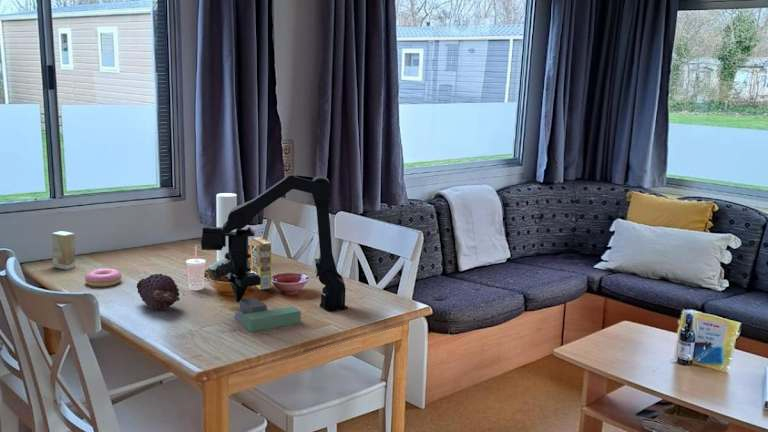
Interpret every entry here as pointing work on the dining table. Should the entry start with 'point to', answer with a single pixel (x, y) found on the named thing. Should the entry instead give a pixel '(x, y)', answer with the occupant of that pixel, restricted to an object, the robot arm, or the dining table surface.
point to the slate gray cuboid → (251, 305)
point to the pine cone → (158, 291)
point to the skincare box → (63, 250)
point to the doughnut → (103, 277)
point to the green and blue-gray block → (269, 318)
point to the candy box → (261, 261)
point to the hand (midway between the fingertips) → (238, 301)
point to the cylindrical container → (224, 216)
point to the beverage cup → (196, 272)
